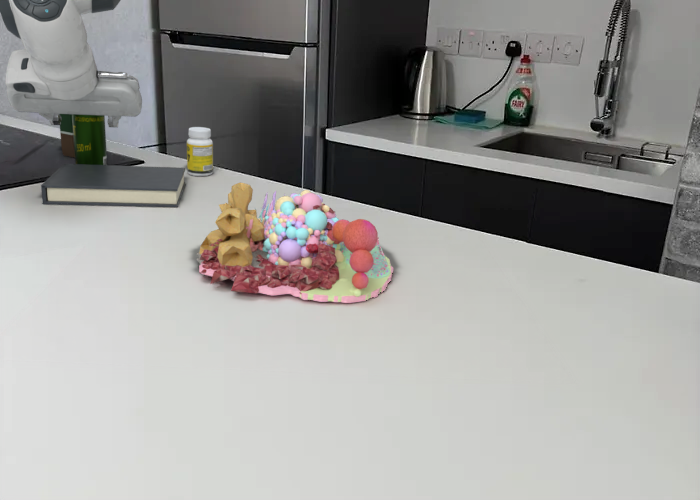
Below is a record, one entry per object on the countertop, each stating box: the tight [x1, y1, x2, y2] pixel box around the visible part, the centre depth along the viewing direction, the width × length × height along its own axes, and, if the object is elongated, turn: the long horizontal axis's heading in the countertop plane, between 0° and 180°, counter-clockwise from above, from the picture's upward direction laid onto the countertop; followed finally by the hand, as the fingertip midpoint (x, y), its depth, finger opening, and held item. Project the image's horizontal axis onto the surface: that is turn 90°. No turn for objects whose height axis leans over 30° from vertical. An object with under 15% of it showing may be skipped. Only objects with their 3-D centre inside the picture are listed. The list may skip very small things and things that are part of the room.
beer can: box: [72, 114, 108, 165], centre depth 121 cm, size 5×5×12 cm
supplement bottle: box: [186, 126, 214, 177], centre depth 126 cm, size 5×5×8 cm
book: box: [40, 163, 186, 208], centre depth 111 cm, size 20×14×3 cm
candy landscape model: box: [195, 182, 395, 304], centre depth 86 cm, size 25×24×9 cm
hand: (85, 123), depth 117 cm, fingers open, 8 cm apart
